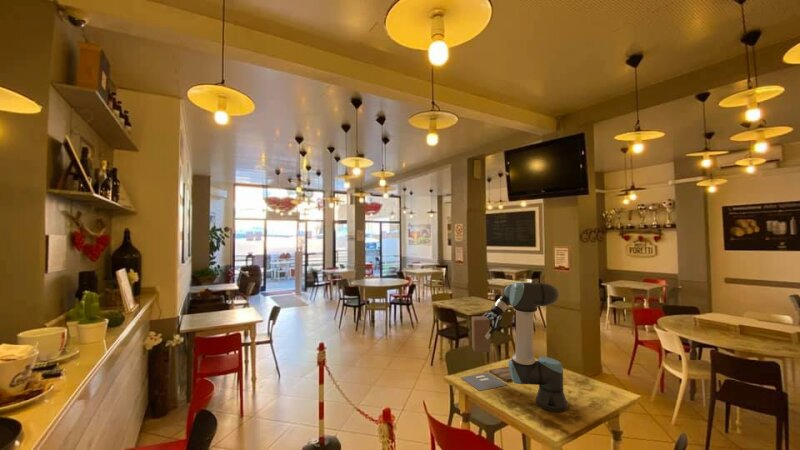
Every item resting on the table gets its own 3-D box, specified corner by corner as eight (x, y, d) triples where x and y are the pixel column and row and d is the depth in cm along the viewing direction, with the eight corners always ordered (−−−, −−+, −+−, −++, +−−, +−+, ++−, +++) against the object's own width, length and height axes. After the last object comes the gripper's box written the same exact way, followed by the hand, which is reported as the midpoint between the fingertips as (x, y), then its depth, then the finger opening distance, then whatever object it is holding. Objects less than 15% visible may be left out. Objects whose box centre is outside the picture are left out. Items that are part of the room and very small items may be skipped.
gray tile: (507, 385, 199) (507, 384, 199) (479, 391, 192) (479, 390, 192) (486, 372, 218) (486, 372, 218) (460, 377, 210) (460, 377, 210)
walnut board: (526, 377, 209) (526, 375, 210) (505, 381, 203) (505, 379, 204) (509, 368, 224) (509, 366, 224) (489, 372, 218) (489, 369, 218)
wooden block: (491, 353, 204) (490, 319, 205) (474, 352, 205) (473, 319, 206) (487, 347, 214) (487, 316, 215) (471, 347, 215) (471, 316, 216)
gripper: (515, 316, 206) (495, 344, 199) (490, 309, 228) (472, 333, 222) (508, 308, 204) (488, 336, 197) (483, 301, 227) (465, 326, 220)
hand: (479, 335), depth 210 cm, fingers closed on wooden block, 12 cm apart
